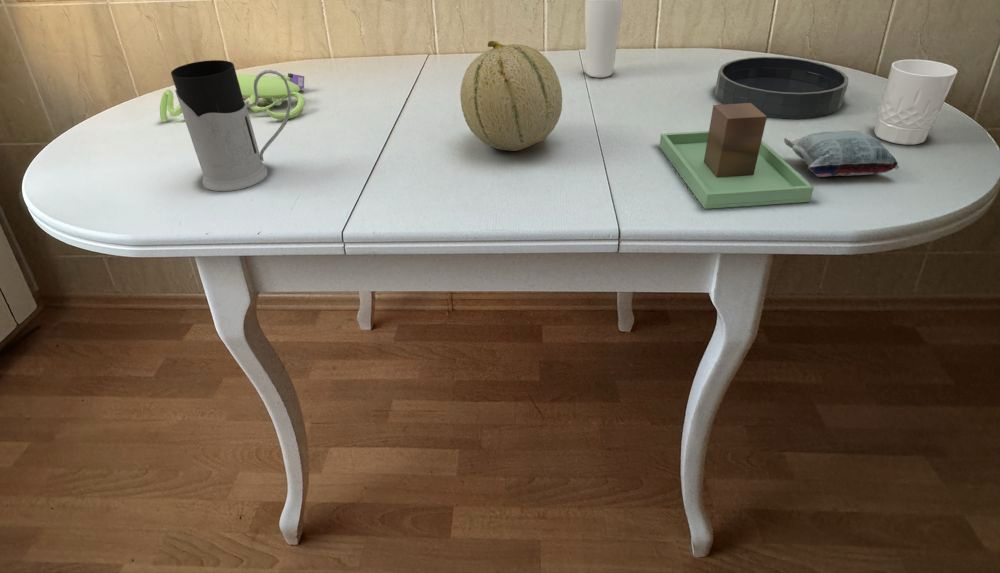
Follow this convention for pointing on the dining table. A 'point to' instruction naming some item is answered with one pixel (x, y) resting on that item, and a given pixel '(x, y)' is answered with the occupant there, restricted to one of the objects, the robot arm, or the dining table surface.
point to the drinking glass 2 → (601, 35)
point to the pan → (782, 86)
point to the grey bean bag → (842, 153)
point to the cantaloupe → (511, 97)
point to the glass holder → (222, 124)
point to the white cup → (913, 100)
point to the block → (734, 139)
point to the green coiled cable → (253, 94)
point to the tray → (762, 188)
